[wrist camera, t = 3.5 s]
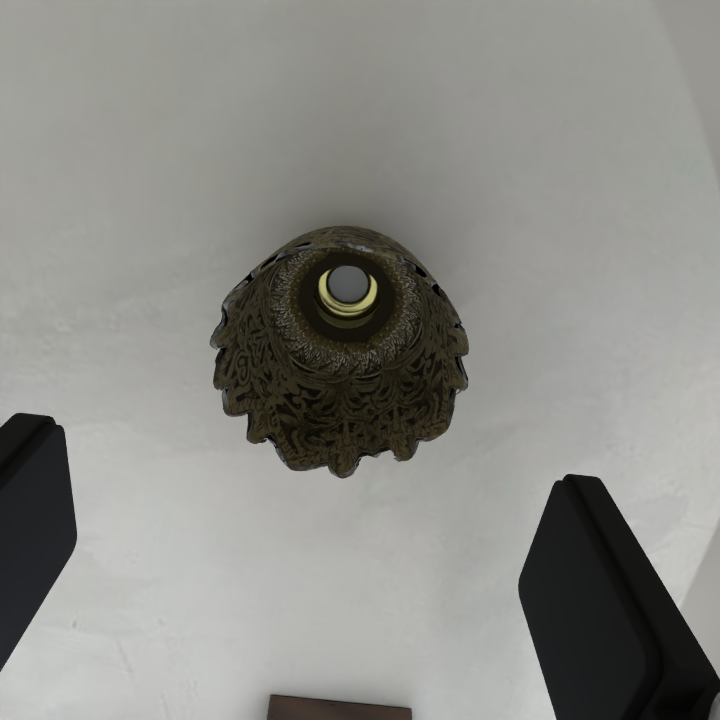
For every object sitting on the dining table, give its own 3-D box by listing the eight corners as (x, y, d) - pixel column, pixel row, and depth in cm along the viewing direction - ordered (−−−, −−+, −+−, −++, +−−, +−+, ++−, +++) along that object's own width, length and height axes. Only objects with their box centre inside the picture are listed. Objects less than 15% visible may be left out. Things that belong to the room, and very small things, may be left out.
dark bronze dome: (414, 166, 21) (437, 209, 14) (456, 338, 24) (493, 446, 17) (230, 223, 22) (163, 290, 15) (293, 381, 25) (263, 500, 18)
